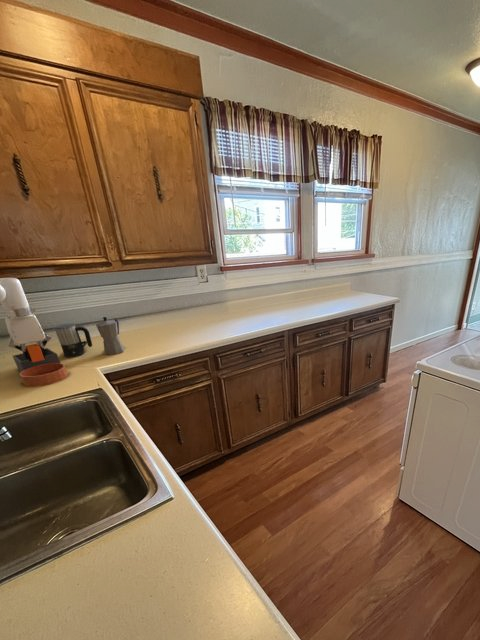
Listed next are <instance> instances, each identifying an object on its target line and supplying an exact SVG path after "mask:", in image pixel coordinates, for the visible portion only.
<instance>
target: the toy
mask: <svg viewBox="0 0 480 640" xmlns="http://www.w3.org/2000/svg"><path fill="white" fill-rule="evenodd" d="M25 346H26V350H27V351H28V352H29V355H30V357H31V360H32V362H37V361H42V360H45V359H44V357H43V354H42V351H41V349H40V346H39V345H38V344H37V343H33V344H32V343H31V344H28V345H25Z"/></svg>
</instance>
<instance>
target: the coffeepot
mask: <svg viewBox="0 0 480 640" xmlns="http://www.w3.org/2000/svg"><path fill="white" fill-rule="evenodd" d="M107 318H108V317H106V316H103V317H102V319H103V321H100V322H97V323H96V324H95V326H96V329H97V331H98V333H99V335H100V337H101V338H102V339H103V341H102V342H103V350H104V351H103V352H104V354H105V355H108V356H113V355H118V354H123V353H124V352H125V348H124V346H123V344H122V341H121V340H120V338H119V335H120V324H119V320H118V319H117V318H112V319H110V320H108V319H107Z"/></svg>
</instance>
